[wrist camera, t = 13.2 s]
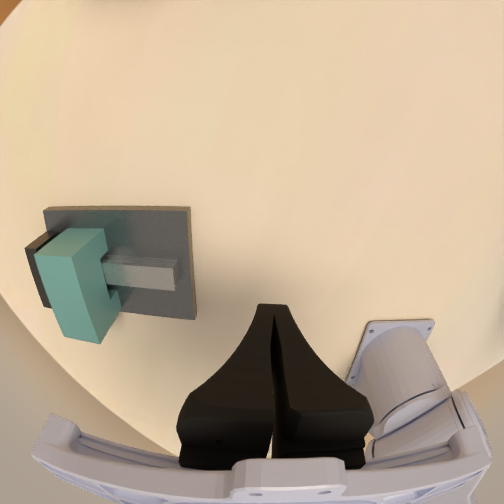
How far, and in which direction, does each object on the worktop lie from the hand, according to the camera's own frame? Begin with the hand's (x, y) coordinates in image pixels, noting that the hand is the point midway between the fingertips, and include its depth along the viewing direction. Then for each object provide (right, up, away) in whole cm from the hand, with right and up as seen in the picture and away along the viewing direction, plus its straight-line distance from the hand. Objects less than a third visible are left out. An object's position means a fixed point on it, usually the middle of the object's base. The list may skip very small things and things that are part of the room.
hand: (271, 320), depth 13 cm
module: (-15, +2, +10) cm, 18 cm away
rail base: (-13, +2, +10) cm, 17 cm away
